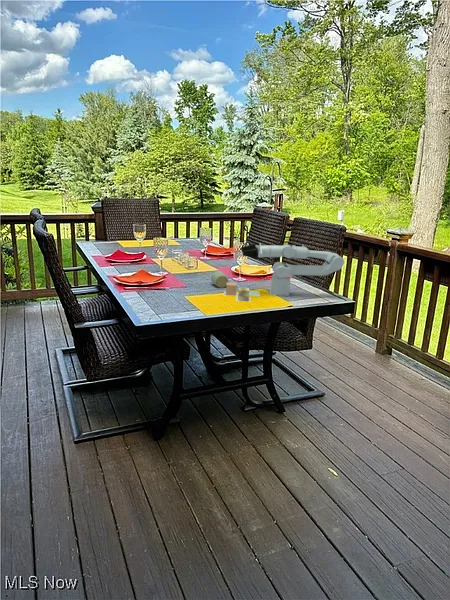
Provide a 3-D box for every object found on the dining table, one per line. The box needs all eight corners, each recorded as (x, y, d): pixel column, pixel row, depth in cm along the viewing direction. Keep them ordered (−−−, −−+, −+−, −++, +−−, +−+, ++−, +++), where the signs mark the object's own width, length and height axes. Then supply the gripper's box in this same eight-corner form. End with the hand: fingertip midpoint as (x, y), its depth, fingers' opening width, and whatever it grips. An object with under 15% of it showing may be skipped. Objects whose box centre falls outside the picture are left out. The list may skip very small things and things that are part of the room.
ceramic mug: (215, 288, 225) (216, 274, 223) (210, 284, 232) (211, 270, 230) (234, 288, 229) (235, 274, 226) (229, 284, 236) (230, 270, 234)
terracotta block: (235, 292, 219) (236, 283, 218) (236, 295, 215) (236, 285, 213) (226, 291, 219) (226, 282, 218) (225, 294, 215) (226, 284, 213)
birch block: (248, 297, 212) (249, 288, 210) (248, 301, 207) (249, 290, 206) (238, 297, 212) (238, 287, 210) (238, 300, 207) (238, 290, 206)
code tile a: (250, 298, 213) (250, 297, 213) (250, 302, 206) (250, 301, 206) (235, 297, 213) (236, 296, 213) (236, 301, 206) (236, 300, 206)
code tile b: (237, 292, 221) (237, 292, 220) (237, 296, 214) (238, 296, 214) (224, 291, 221) (224, 291, 220) (223, 295, 214) (223, 295, 214)
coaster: (259, 292, 224) (259, 291, 224) (260, 297, 216) (260, 296, 216) (241, 290, 224) (241, 290, 224) (241, 295, 216) (242, 295, 216)
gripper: (267, 239, 222) (241, 239, 222) (271, 247, 209) (243, 247, 208) (267, 253, 225) (241, 253, 224) (271, 261, 211) (243, 261, 211)
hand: (242, 251), depth 217 cm, fingers open, 7 cm apart
